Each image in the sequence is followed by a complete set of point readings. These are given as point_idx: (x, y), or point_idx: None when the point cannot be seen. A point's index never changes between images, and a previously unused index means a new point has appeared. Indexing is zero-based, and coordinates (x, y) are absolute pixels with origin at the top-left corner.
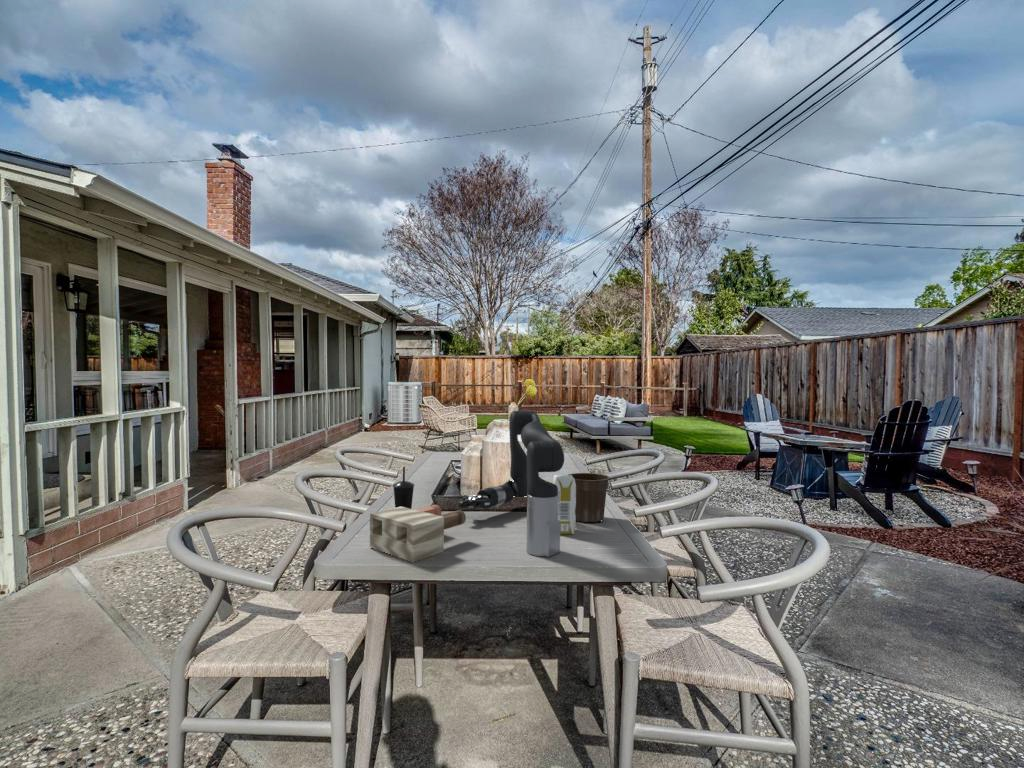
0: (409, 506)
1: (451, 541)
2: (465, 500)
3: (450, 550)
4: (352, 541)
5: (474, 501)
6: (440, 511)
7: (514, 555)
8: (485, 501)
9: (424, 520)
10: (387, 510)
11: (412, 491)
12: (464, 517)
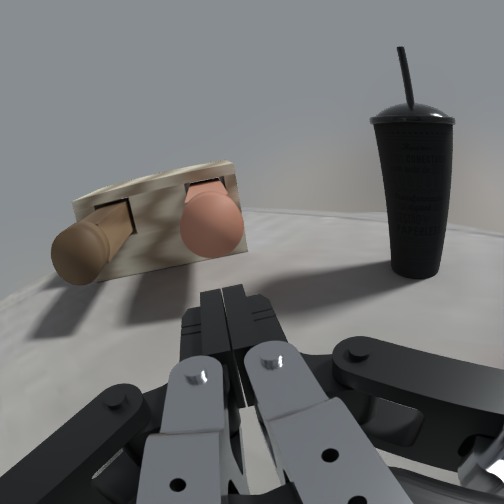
0: (394, 207)
1: (116, 311)
2: (247, 335)
3: (86, 291)
4: (294, 216)
5: (115, 389)
6: (180, 226)
7: None
8: (5, 486)
9: (98, 190)
10: (221, 162)
11: (397, 144)
12: (54, 256)
